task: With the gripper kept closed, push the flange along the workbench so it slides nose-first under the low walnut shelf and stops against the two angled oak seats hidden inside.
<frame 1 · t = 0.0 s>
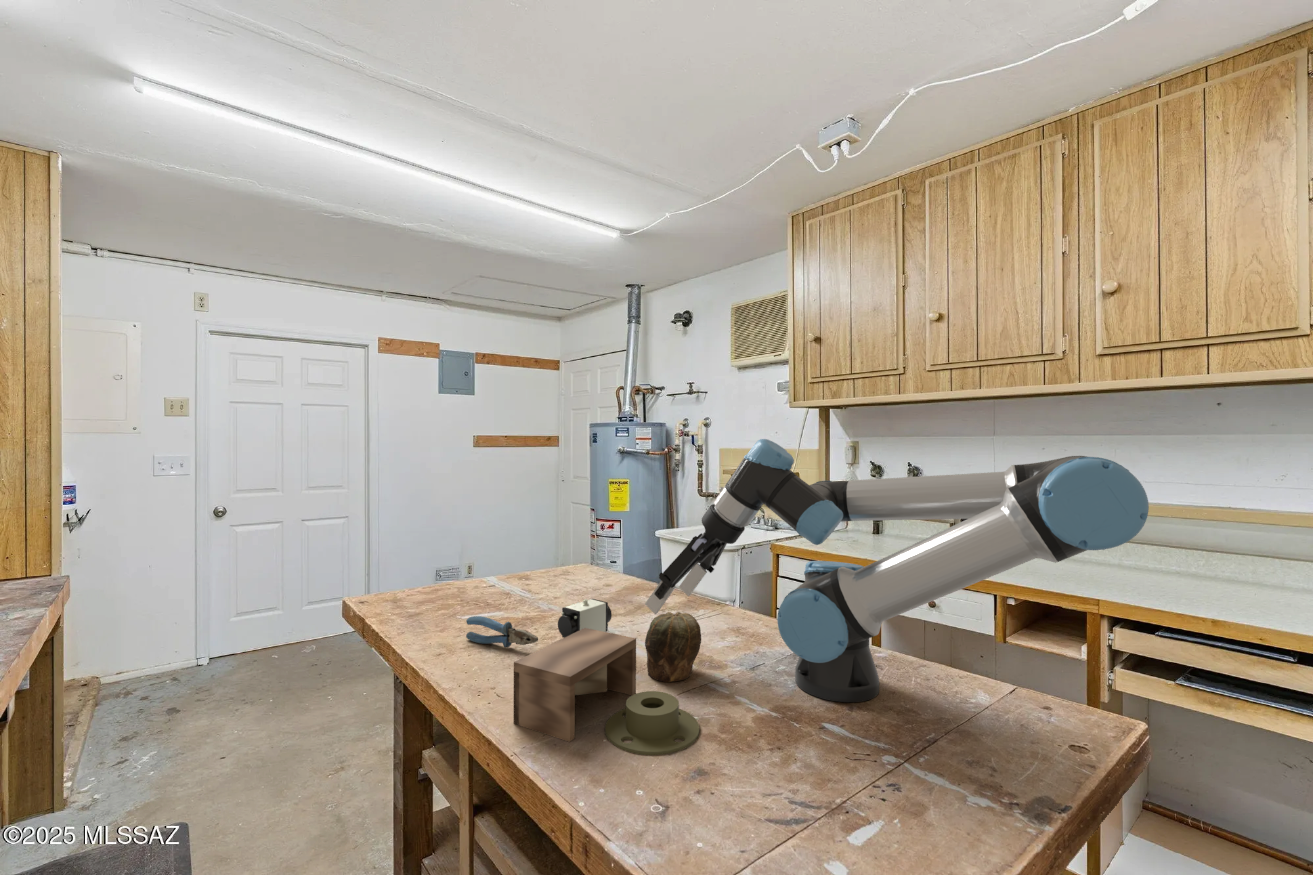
hand: (668, 599, 112), 15 cm above the table, tool tilted 35°, fingers open, 13 cm apart
pneumatic valve: (583, 656, 123), on the table
flange: (652, 733, 93), on the table
shelf: (581, 708, 100), on the table
pliers: (500, 648, 128), on the table
green-brown ribbed rounded piece: (673, 675, 114), on the table
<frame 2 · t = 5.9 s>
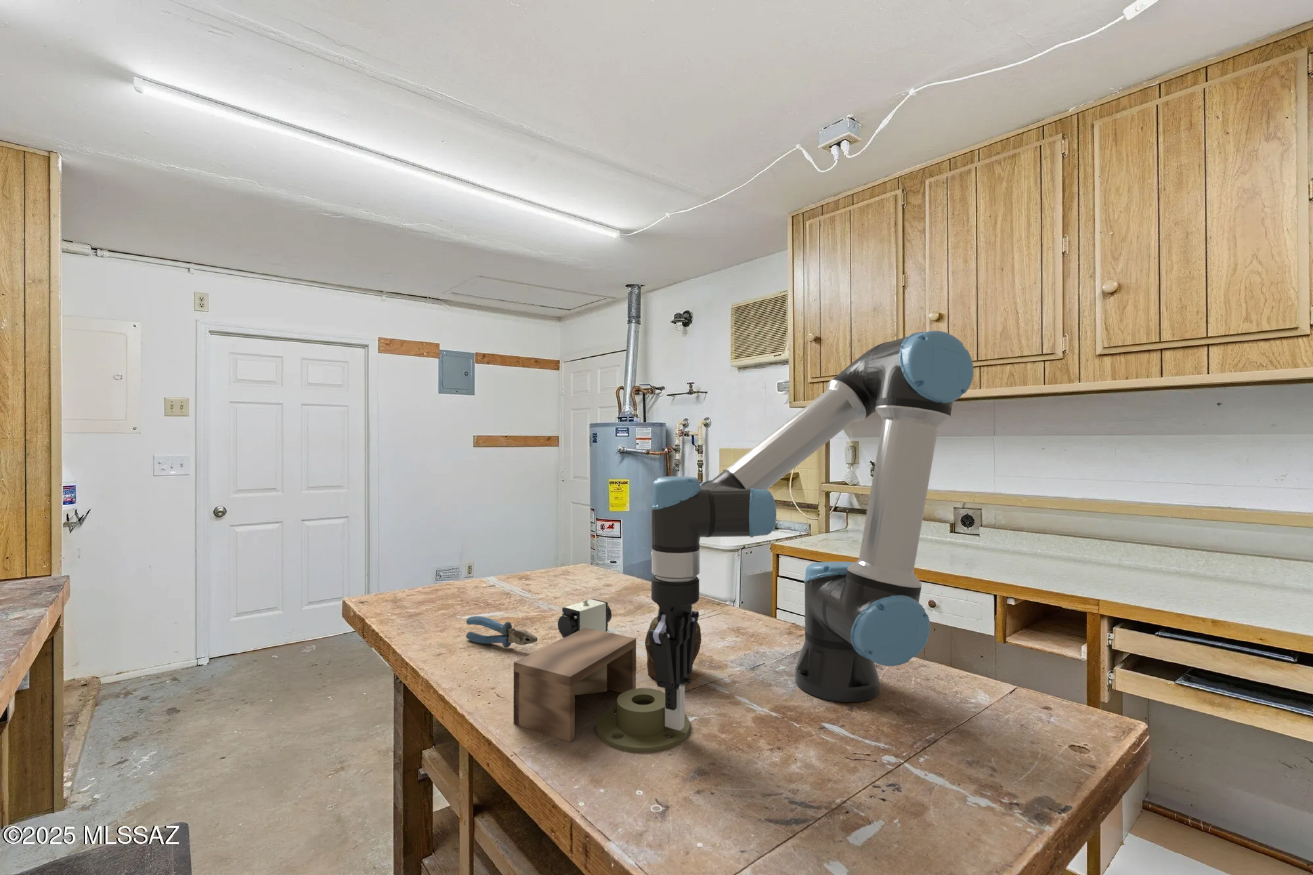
hand: (674, 726, 91), 1 cm above the table, tool pointing down, fingers closed
flange: (643, 729, 93), on the table
everything else where it was.
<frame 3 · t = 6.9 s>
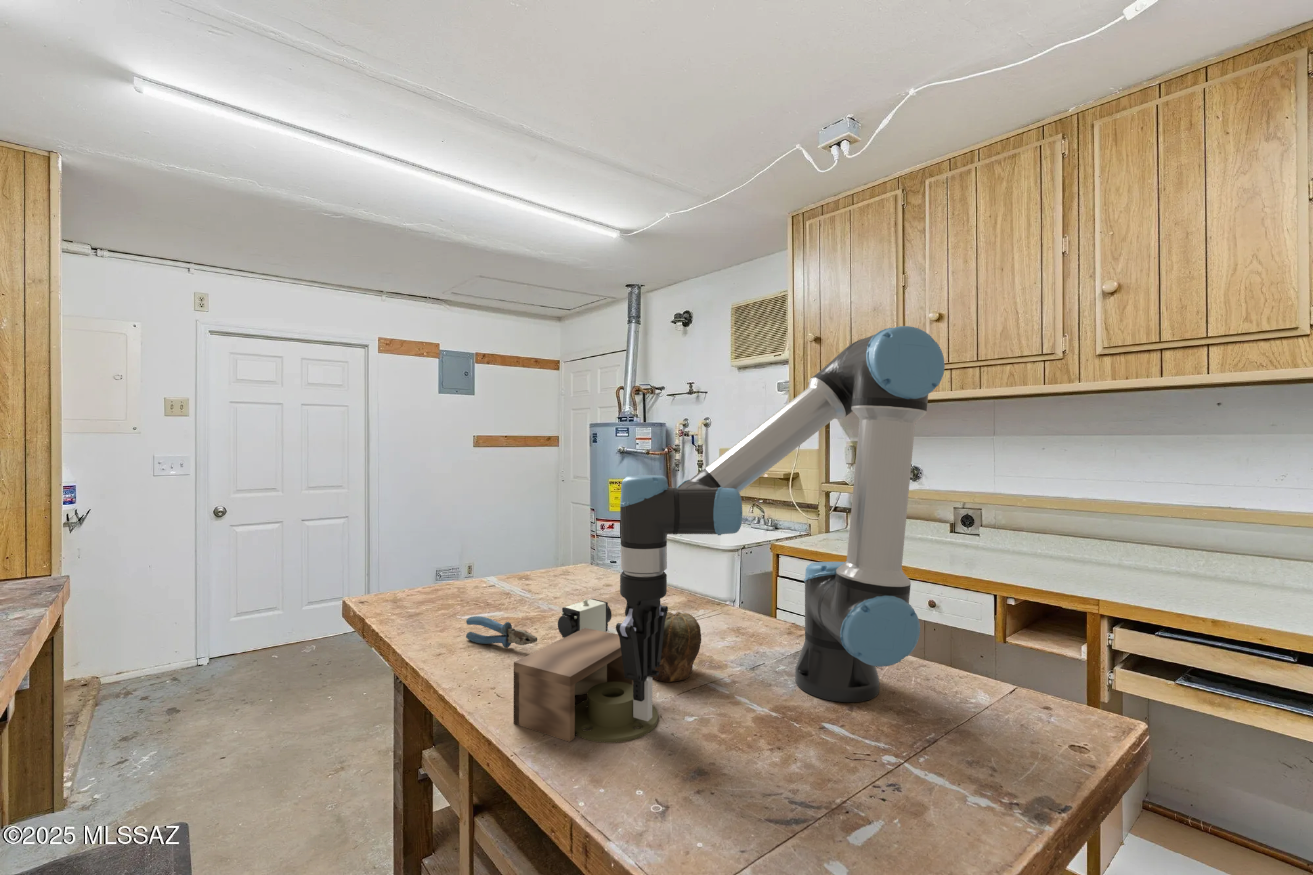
hand: (642, 717, 93), 2 cm above the table, tool pointing down, fingers closed
flange: (612, 721, 96), on the table, touching gripper
everything else where it was.
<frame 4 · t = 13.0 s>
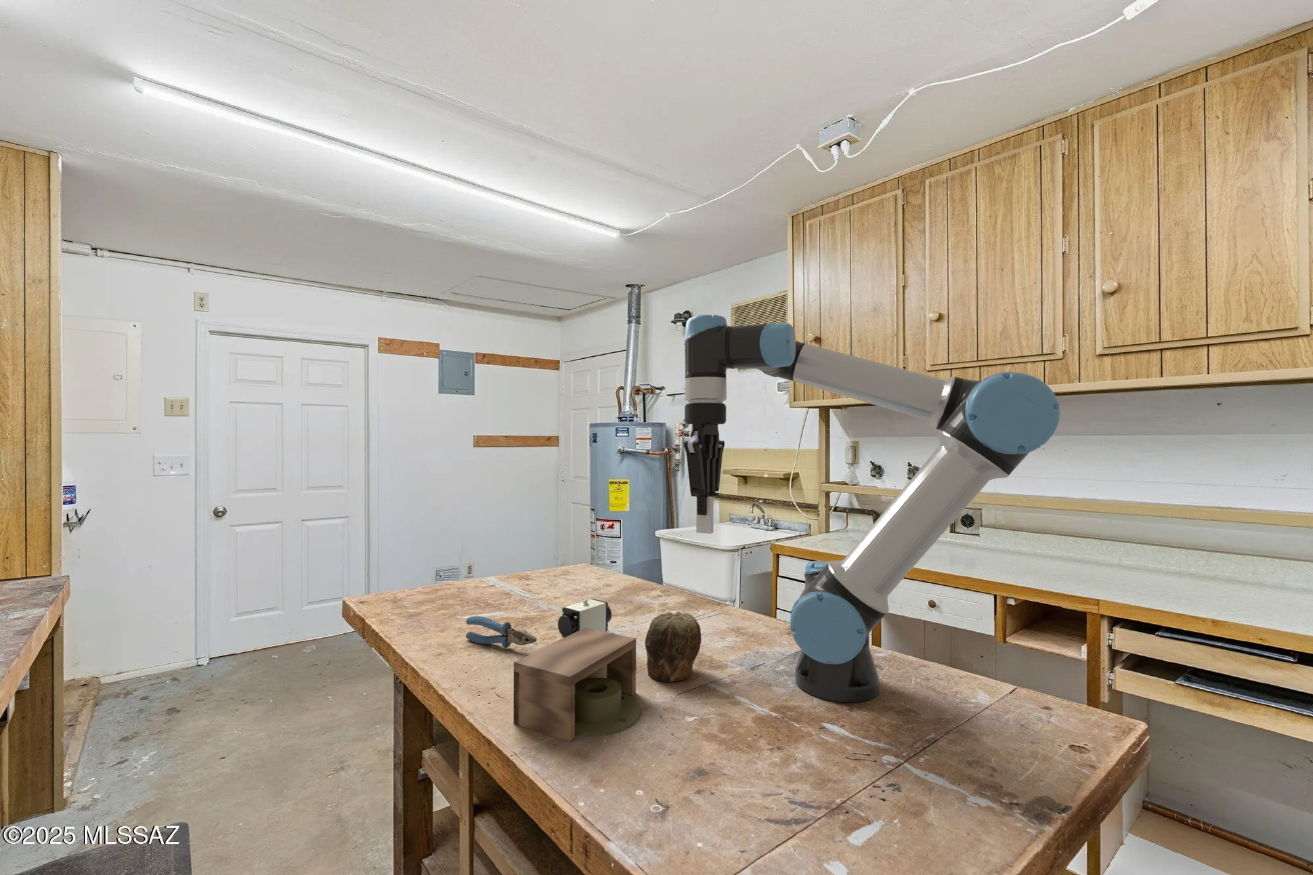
hand: (704, 532, 105), 29 cm above the table, tool pointing down, fingers closed
flange: (595, 716, 98), on the table
everything else where it was.
at the end: flange 0.5 cm from the target spot on the shelf, point -0.7 cm above the shelf's base; flange tilted 0° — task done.
